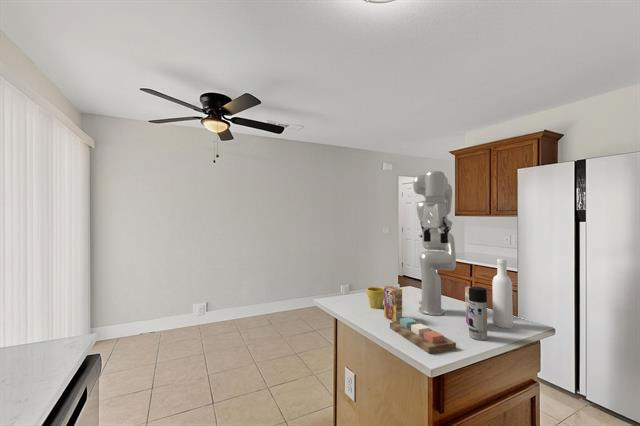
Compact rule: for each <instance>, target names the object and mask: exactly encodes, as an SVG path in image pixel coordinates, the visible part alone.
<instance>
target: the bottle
mask: <svg viewBox="0 0 640 426" xmlns="http://www.w3.org/2000/svg"><path fill="white" fill-rule="evenodd" d="M496 260H497V261H496V264H497V265H496V266H497V269H496V270H497V274H496V275H494V276H493V278H492V281H491V282H492V283H491V286H492V324H493V326H495V327H499V328H502V329H512V328H514V317H513V314H514V313H513V308H514V307H513V282H512V280H511V277H509V276H508V274H507V271H508V269H507V265H508V263H507V259H503V258H497V259H496Z"/></svg>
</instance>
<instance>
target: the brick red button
mask: <svg viewBox="0 0 640 426" xmlns="http://www.w3.org/2000/svg"><path fill="white" fill-rule="evenodd" d="M443 336H444V335H443V334H442V333H440V332H438V331H435V330H433V331H428V332H424V339H425V340H427V341H428V342H430V343H432V344H434V343H441V342H444V340H443Z"/></svg>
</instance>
